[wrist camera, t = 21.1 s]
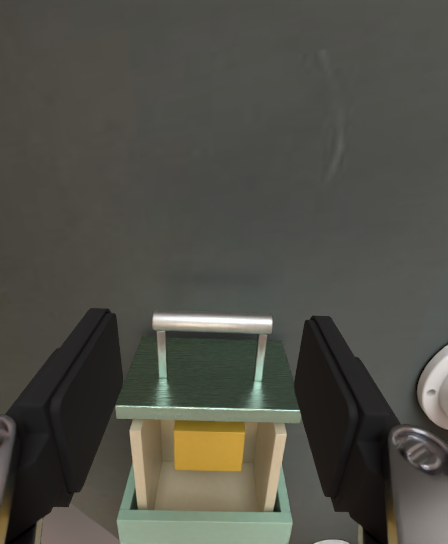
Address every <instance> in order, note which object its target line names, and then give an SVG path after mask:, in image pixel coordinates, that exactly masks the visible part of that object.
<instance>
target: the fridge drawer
mask: <svg viewBox="0 0 448 544" xmlns="http://www.w3.org/2000/svg"><path fill="white" fill-rule="evenodd" d="M152 328H153V330H157V337H151V336H142V338H141V341H140V344H139V346H138V349H137V351H136V354H135V356H134V359H133V361H132V364H131V366H130V369H129V372H128V374H127V377H126V379H125V382H124V384H123V387H122V389H121V392H120V395H119V397H118V400H117V402H116V405H115V409H116V417H117V419H133V421H132V424H131V427H130V430H129V432H130V441H131V450H132V460H133V469H134V479H135V488H136V497H137V507H138V510H175V511H231V512H273V510H274V504H275V499H276V493H277V487H278V482H279V476H280V470H281V465H282V459H283V453H284V448H285V442H286V436H287V433H286V429H285V424H284V423H300V421H301V413H300V410H299V406H298V403H297V399H296V396H295V391H294V381H293V377H292V374H291V370H290V367H289V364H288V360H287V357H286V354H285V350H284V347H283V343H282V341H275V340H267V334H271V333H272V329H273V319H272V315H271V314H269V313H240V312H211V311H182V310H154V312H153V316H152ZM167 331H188V332H218V333H249V334H258V337H257V340H244V339H213V338H182V337H167ZM175 420H187V421H227V422H244V423H245V441H244V451H243V461H242V470H241V471H197V470H175V467H174V425H175Z"/></svg>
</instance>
